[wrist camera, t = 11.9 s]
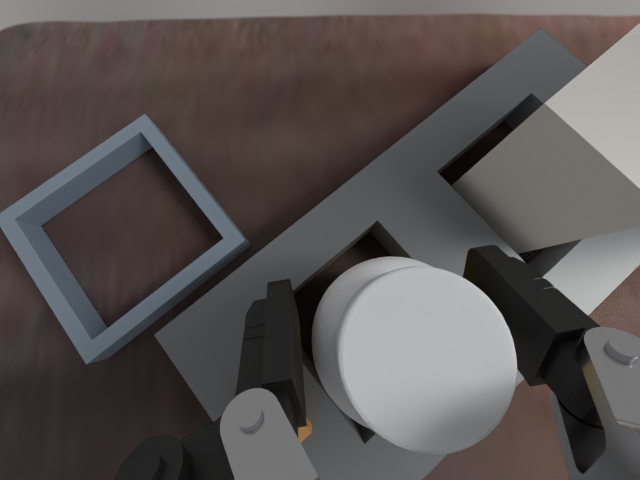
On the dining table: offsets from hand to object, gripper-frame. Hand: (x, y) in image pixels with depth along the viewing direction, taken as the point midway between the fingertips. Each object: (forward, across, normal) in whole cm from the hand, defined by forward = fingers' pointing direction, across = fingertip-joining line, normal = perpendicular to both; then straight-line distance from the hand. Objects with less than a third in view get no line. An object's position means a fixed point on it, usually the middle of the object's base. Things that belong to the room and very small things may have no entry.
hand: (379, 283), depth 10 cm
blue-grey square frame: (+8, +12, +1) cm, 15 cm away
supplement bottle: (+3, 0, +6) cm, 7 cm away
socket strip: (+5, -4, +4) cm, 8 cm away
